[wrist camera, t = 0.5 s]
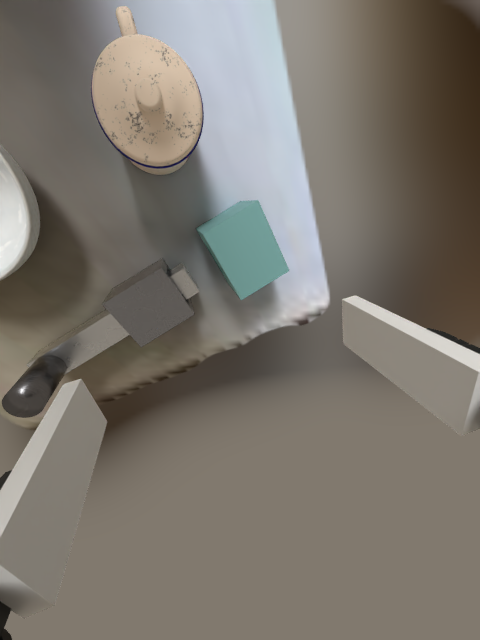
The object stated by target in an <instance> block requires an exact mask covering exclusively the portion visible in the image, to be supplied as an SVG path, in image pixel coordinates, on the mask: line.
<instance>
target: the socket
mask: <svg viewBox="0 0 480 640" xmlns="http://www.w3.org/2000/svg"><path fill="white" fill-rule="evenodd" d="M196 230H197V231H198V233H199V235H200V236H201V238H202V240H203V242H204V243H205V245H206V247H207V248H208V250H209V252H210V253H211V255H212V257H213V259H214V260H215V262H216V264H217V265H218V267H219V269H220V270H221V272H222V274H223V276H224V277H225V279H226V281H227V282H228V284H229V285H230V286H231V288H232V289H233V290H234V292H235V293H236V294H237V295H238V297H239V298H240V299H241V300H243V299H244V298H246V297H248V296H249V295H251V294H252V293H254V292H256V291H257V290H259V289H261V288H262V287H264V286H265V285H267V284H269V283H270V282H272V281H274V280H275V279H277V278H278V277H280V276H282V275H283V274H285V273H287V272H288V271H289V269H288V267H287V264H286V262H285V260H284V258H283V255H282V253H281V251H280V248H279V246H278V244H277V242H276V239H275V237H274V235H273V233H272V230H271V228H270V226H269V224H268V221H267V219H266V217H265V215H264V212H263V210H262V208H261V205H260V203H259V201H258V200H255V201H240V202H238V203H237V204H235V205H233V206H232V207H230V208H228V209H227V210H225V211H224V212H222V213H220V214H219V215H217V216H215V217H214V218H212V219H211V220H209V221H207V222H206V223H204V224H202V225H201V226H199V227H198V228H196Z"/></svg>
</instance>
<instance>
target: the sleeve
mask: <svg viewBox="0 0 480 640" xmlns="http://www.w3.org/2000/svg"><path fill="white" fill-rule="evenodd" d="M168 271H170V268H169V267H168V265H167V264H166V263H165V261H164V260H163V258H162V259H160V260H159V261H157V262H155V263H154V264H152V265H151V266H149V267H147V268H146V269H144V270H142V271H141V272H139V273H137V274H136V275H134V276H133V277H131V278H129V279H128V280H126V281H124V282H123V283H121V284H120V285H118V286H116V287H115V288H113V289H112V290H111V292H110V293H109V295H108V296H107V298H106V299H105V301H104V302H103V304H102V305H103V306H104V307H105V308H106V309H107V310H108V311H109V313H110V314H111V315H112V316H113V317H114V318H115V319H116V320H117V321H118V322H119V324H120V325H121V326H122V327H123V328H124V329H125V330H126V331H127V332H128V333H129V335H130V336H131V337H132V338H133V339H134V340H135V341H136V342H137V343H138V344H139V346H140V347H142V346H144V345H146V344H147V343H149V342H151V341H152V340H154V339H155V338H157V337H159V336H160V335H162V334H164V333H165V332H167V331H168V330H170V329H172V328H173V327H175V326H176V325H178V324H180V323H181V322H183V321H185V320H186V319H188V318H189V317H191V316H193V315H194V310H193V306H192V302H191V298H188V299H187V300H185V299H184V297H183V296H182V294H181V293H180V291H179V290H178V289H177V287H176V286H175V284H174V283H173V282H172V280H171V279H170V277H169V276H168V275H167V272H168Z"/></svg>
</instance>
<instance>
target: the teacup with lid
mask: <svg viewBox="0 0 480 640" xmlns="http://www.w3.org/2000/svg"><path fill="white" fill-rule="evenodd" d="M116 16H117V20H118V23H119V27H120V31H121V34H122V37H120V38H118V39H116V40H114V41H113V42H111V43H110V44H109V45H108V46H107V47H106V48H105V49H104V50H103V51H102V53H101V54H100V56H99V58H98V60H97V62H96V64H95V67H94V70H93V74H92V81H91V95H92V103H93V107H94V111H95V114H96V117H97V120H98V122H99V124H100V126H101V128H102V130H103V132H104V134H105V135H106V137H107V138H108V139H109V141H110V142H111V143H112V145H113V146H114V147H115V148H116V149H117V150H118V151H119V152H120V153H122V154H123V155H124V156H125V157H127V158H128V159H129V160H130V161H131V162H132V163H133V164H134V165H135V166H137V167H138V168H140V169H141V170H143V171H145V172H148V173H151V174H155V175H165V174H170V173H173V172H175V171H177V170H178V169H180V168H181V167H182V166H183V165H184V164H185V162H186V161H187V159H188V158H189V156H190V154H191V153H192V152H193V150H194V149H195V147H196V145H197V143H198V141H199V139H200V136H201V132H202V127H203V103H202V98H201V94H200V91H199V87H198V85H197V82H196V80H195V78H194V76H193V74H192V72H191V71H190V69H189V68H188V66H187V65H186V63H185V62H184V61H183V60H182V58H181V57H180V56H179V55H178V54H177V53H176V52H175V51H174V50H173V49H172V48H170V47H169V46H168V45H166V44H165V43H163V42H161V41H159V40H157V39H155V38H152V37H149V36H145V35H138V34H137V30H136V26H135V23H134V19H133V16H132V13H131V11H130V9H129V8H128V7H126V6H122V7H118V8H117V9H116Z"/></svg>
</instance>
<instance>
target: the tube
mask: <svg viewBox="0 0 480 640" xmlns="http://www.w3.org/2000/svg"><path fill="white" fill-rule="evenodd" d="M167 275H168V276H169V277H170V279H171V280H172V282H173V283H174V284H175V286H176V287H177V289H178V290H179V291H180V293H181V294H182V296H183V297H184V299H185V300H187V299H188V298H190V297H192V296H193V295H195V294H197V293H198V292H199V290H198V287H197V284H196V283H195V281H194V280H193V278H192V277H191V275H190V274H189V272H188V271H187V269H186V268H185V266H184V265H183V263H181V264H179V265H178V266H176V267H175V268H173V269H171V270H170V271H168V272H167ZM128 335H129V333H128V332H127V331H126V330H125V329H124V328H123V327H122V326H121V325H120V324H119V322H118V321H117V320H116V319H115V318H114V317H113V316H112V315H111V314H110V313H109V311H108V310H107V309H106V310H105V311H103V312H101V313H100V314H98V315H96V316H95V317H93V318H92V319H90V320H88V321H87V322H85V323H83V324H82V325H80V326H79V327H77V328H75V329H74V330H72V331H70V332H69V333H67V334H65V335H64V336H62V337H61V338H59V339H57V340H56V341H54V342H52V343H51V344H49V345H48V346H46V347H44V348H43V349H41V350H39V351H38V353H37V354H36V355H35V356H34V357H33V358H32V359H31V360H30V361H29V363H28V364H27V366H28V367H29V368H28V370H27V371H26V372H25V373H24V374H23V375H22V376H21V378H20V379H19V380H18V381H17V382H16V383H15V385H14V386H13V387H12V388H11V389H10V390H9V391H8V393H7V394H6V395H5V396H4V398H3V400H2V406H3V408H4V409H5V410H6V411H7V412H8V413H9V414H11V415H13V416H17V417H23V418H26V417H32V416H35V415H37V414H39V413H40V412H41V411H42V410H43V408H44V407H45V405H46V403H47V402H48V400H49V399H50V397H51V395H52V394H53V392H54V391H55V389H56V387H57V386H58V384H59V382H60V381H61V379H62V378H63V376H64V375H65V374H67V373H68V372H70V371H71V370H73V369H75V368H76V367H78V366H80V365H81V364H83V363H84V362H86V361H88V360H89V359H91V358H93V357H94V356H96V355H97V354H99V353H101V352H102V351H104V350H106V349H107V348H109V347H110V346H112V345H114V344H115V343H117V342H119V341H120V340H122V339H123V338H125V337H127V336H128Z"/></svg>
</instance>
